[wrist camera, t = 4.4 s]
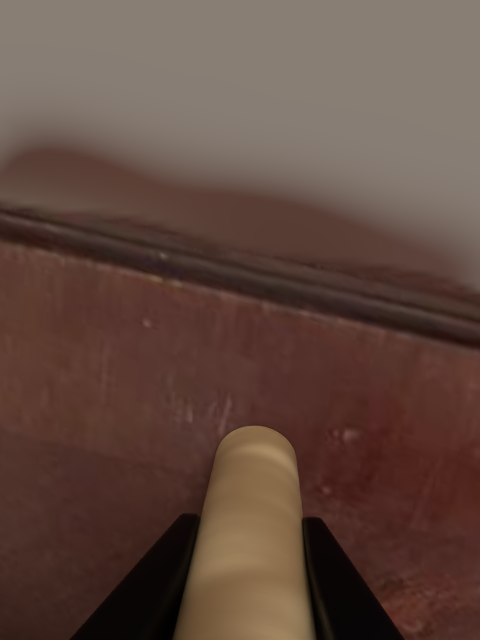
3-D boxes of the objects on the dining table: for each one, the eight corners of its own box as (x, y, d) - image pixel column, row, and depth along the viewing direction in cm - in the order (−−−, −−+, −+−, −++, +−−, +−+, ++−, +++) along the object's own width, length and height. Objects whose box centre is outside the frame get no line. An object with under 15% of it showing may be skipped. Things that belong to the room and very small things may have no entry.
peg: (296, 425, 10) (426, 1424, 2) (296, 496, 11) (392, 1498, 2) (213, 424, 11) (-38, 1319, 2) (217, 494, 11) (40, 1412, 3)
